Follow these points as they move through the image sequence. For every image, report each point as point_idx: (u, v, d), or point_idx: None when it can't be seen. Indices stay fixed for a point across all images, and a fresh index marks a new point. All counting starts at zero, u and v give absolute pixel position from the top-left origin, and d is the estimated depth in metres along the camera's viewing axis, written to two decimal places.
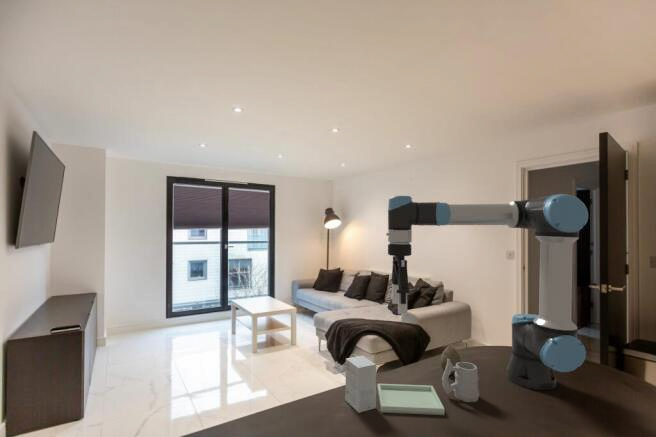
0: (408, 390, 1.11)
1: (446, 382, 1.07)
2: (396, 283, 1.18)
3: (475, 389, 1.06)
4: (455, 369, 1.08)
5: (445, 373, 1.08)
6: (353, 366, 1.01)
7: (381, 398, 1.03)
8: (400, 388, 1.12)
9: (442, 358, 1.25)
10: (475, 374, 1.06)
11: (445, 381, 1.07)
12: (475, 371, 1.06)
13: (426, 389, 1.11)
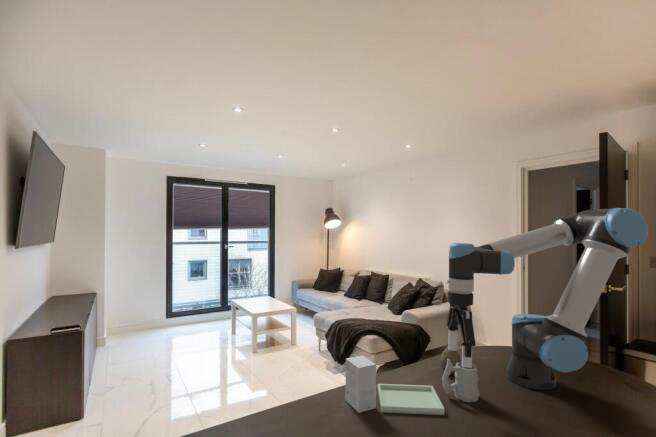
0: (408, 390, 1.11)
1: (446, 382, 1.07)
2: (453, 329, 1.16)
3: (475, 389, 1.06)
4: (455, 369, 1.08)
5: (445, 373, 1.08)
6: (353, 366, 1.01)
7: (381, 398, 1.03)
8: (400, 388, 1.12)
9: (442, 358, 1.25)
10: (475, 374, 1.06)
11: (445, 381, 1.07)
12: (475, 371, 1.06)
13: (426, 389, 1.11)
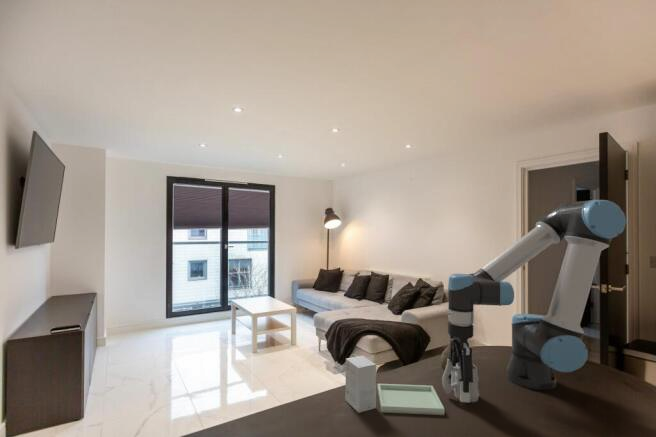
0: (408, 390, 1.11)
1: (446, 382, 1.07)
2: (455, 366, 1.13)
3: (475, 389, 1.06)
4: (455, 369, 1.08)
5: (445, 373, 1.08)
6: (353, 366, 1.01)
7: (381, 398, 1.03)
8: (400, 388, 1.12)
9: (442, 358, 1.25)
10: (475, 374, 1.06)
11: (445, 381, 1.07)
12: (475, 371, 1.06)
13: (426, 389, 1.11)
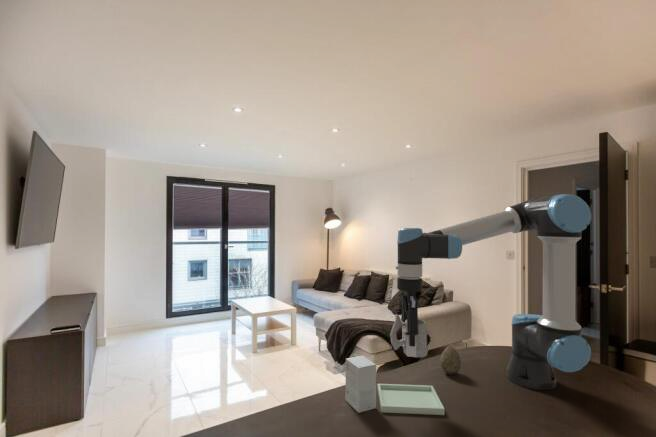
0: (408, 390, 1.11)
1: (394, 337, 1.04)
2: None
3: (423, 344, 1.03)
4: (403, 324, 1.05)
5: (393, 328, 1.05)
6: (353, 366, 1.01)
7: (381, 398, 1.03)
8: (400, 388, 1.12)
9: (442, 358, 1.25)
10: (423, 329, 1.03)
11: (393, 337, 1.04)
12: (423, 326, 1.03)
13: (426, 389, 1.11)
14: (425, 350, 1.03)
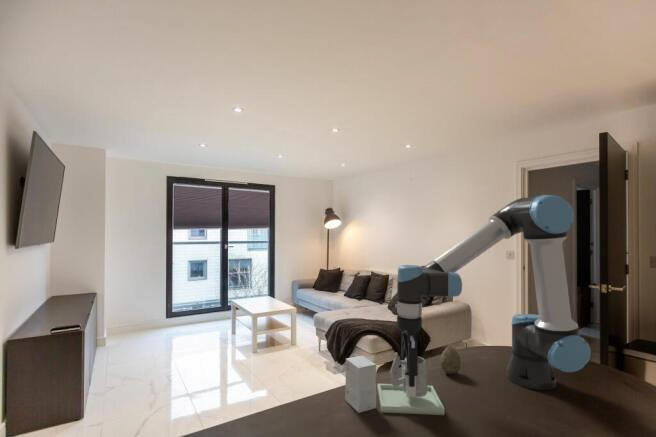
0: None
1: (393, 376, 1.04)
2: None
3: (422, 383, 1.02)
4: (403, 363, 1.05)
5: (392, 367, 1.04)
6: (353, 366, 1.01)
7: (381, 398, 1.03)
8: (400, 388, 1.12)
9: (442, 358, 1.25)
10: (423, 368, 1.03)
11: (392, 376, 1.04)
12: (423, 365, 1.03)
13: None
14: (425, 390, 1.02)
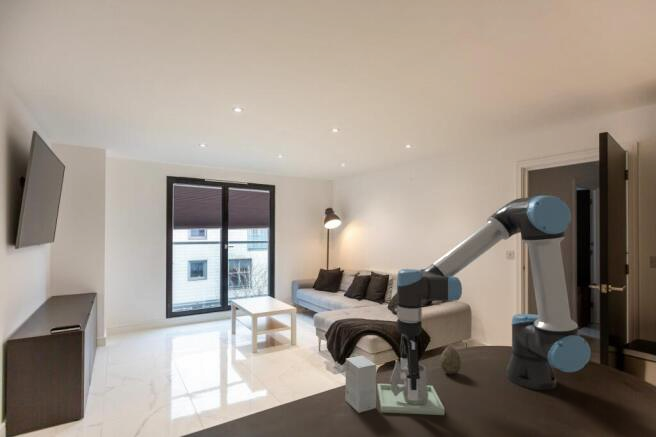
0: None
1: (394, 384, 1.04)
2: (405, 357, 1.13)
3: (423, 391, 1.02)
4: (403, 370, 1.05)
5: (393, 375, 1.04)
6: (353, 366, 1.01)
7: (381, 398, 1.03)
8: None
9: (442, 358, 1.25)
10: (423, 376, 1.03)
11: (393, 383, 1.04)
12: (423, 373, 1.03)
13: None
14: (425, 397, 1.02)
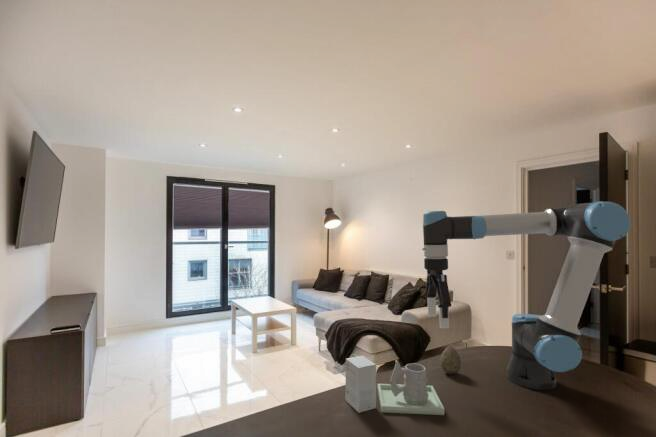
0: None
1: (394, 384, 1.04)
2: (431, 296, 1.20)
3: (423, 392, 1.02)
4: (403, 371, 1.05)
5: (393, 375, 1.04)
6: (353, 366, 1.01)
7: (381, 398, 1.03)
8: None
9: (442, 358, 1.25)
10: (423, 376, 1.03)
11: (393, 383, 1.04)
12: (423, 373, 1.03)
13: None
14: (425, 398, 1.02)
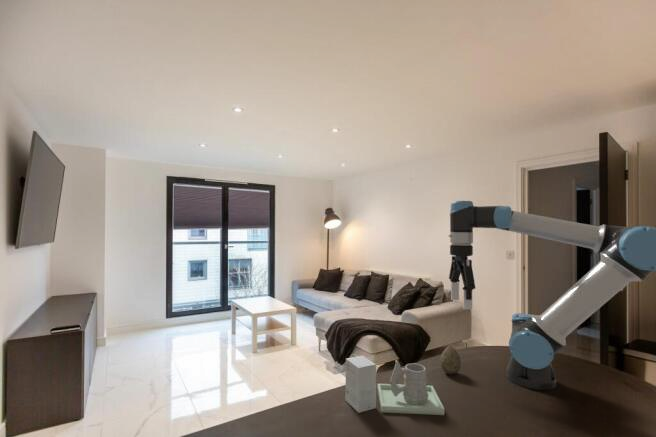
0: None
1: (394, 384, 1.04)
2: (454, 281, 1.28)
3: (423, 392, 1.02)
4: (403, 371, 1.05)
5: (393, 375, 1.04)
6: (353, 366, 1.01)
7: (381, 398, 1.03)
8: None
9: (442, 358, 1.25)
10: (423, 376, 1.03)
11: (393, 383, 1.04)
12: (423, 373, 1.03)
13: None
14: (425, 398, 1.02)
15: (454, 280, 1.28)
